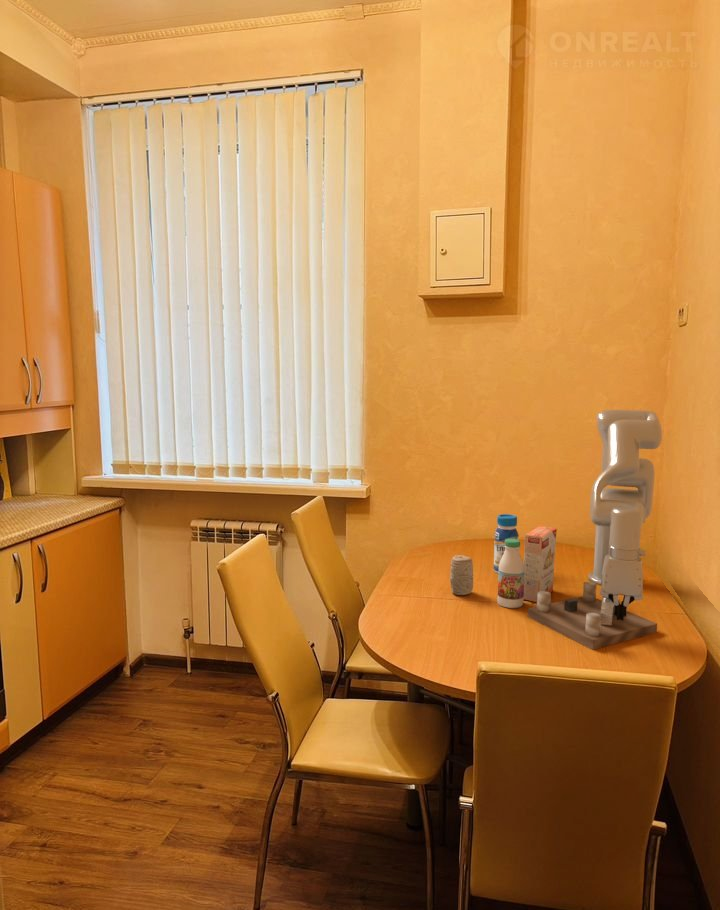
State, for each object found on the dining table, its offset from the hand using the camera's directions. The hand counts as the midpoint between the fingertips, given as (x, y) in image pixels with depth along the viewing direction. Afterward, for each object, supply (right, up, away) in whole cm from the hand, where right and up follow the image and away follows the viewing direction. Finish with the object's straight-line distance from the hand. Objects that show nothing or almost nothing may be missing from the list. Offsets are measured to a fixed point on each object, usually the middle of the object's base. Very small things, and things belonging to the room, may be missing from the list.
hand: (619, 618), depth 169 cm
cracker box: (-14, 0, +28) cm, 31 cm away
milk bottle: (-25, -1, +20) cm, 32 cm away
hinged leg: (-1, 0, +5) cm, 6 cm away
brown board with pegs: (-6, -3, +5) cm, 9 cm away
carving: (-38, 0, +29) cm, 48 cm away
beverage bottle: (-19, +3, +51) cm, 55 cm away
